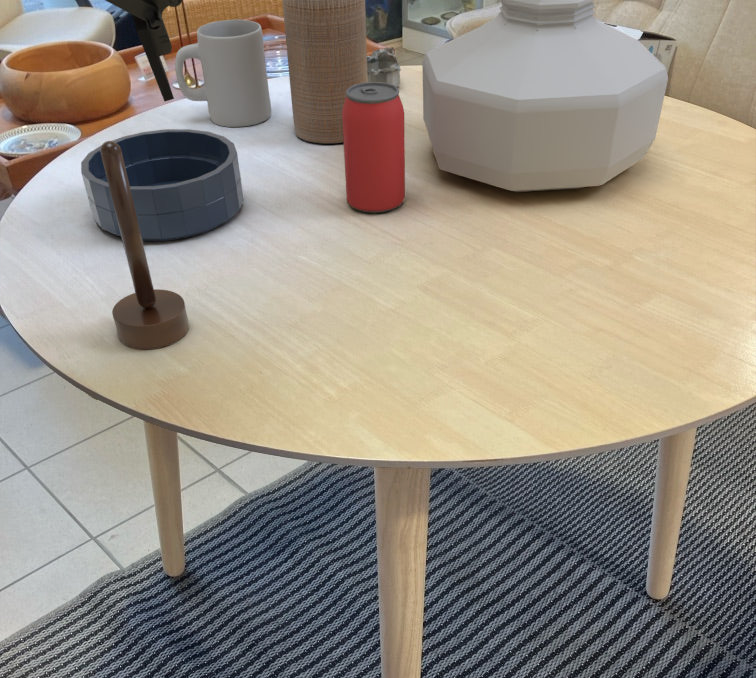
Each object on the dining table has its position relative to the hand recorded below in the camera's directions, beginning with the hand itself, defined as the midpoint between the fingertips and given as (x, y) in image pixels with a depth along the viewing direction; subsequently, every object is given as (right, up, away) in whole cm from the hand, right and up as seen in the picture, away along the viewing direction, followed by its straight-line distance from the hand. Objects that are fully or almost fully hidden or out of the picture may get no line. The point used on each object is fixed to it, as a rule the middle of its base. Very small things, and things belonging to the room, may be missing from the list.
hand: (79, 113), depth 65 cm
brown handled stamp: (+2, -14, +14) cm, 19 cm away
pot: (+42, +12, +40) cm, 59 cm away
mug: (+2, +24, +53) cm, 58 cm away
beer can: (+22, +4, +32) cm, 39 cm away
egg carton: (+21, +32, +61) cm, 72 cm away
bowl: (-1, +4, +32) cm, 32 cm away
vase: (+17, +20, +48) cm, 55 cm away
